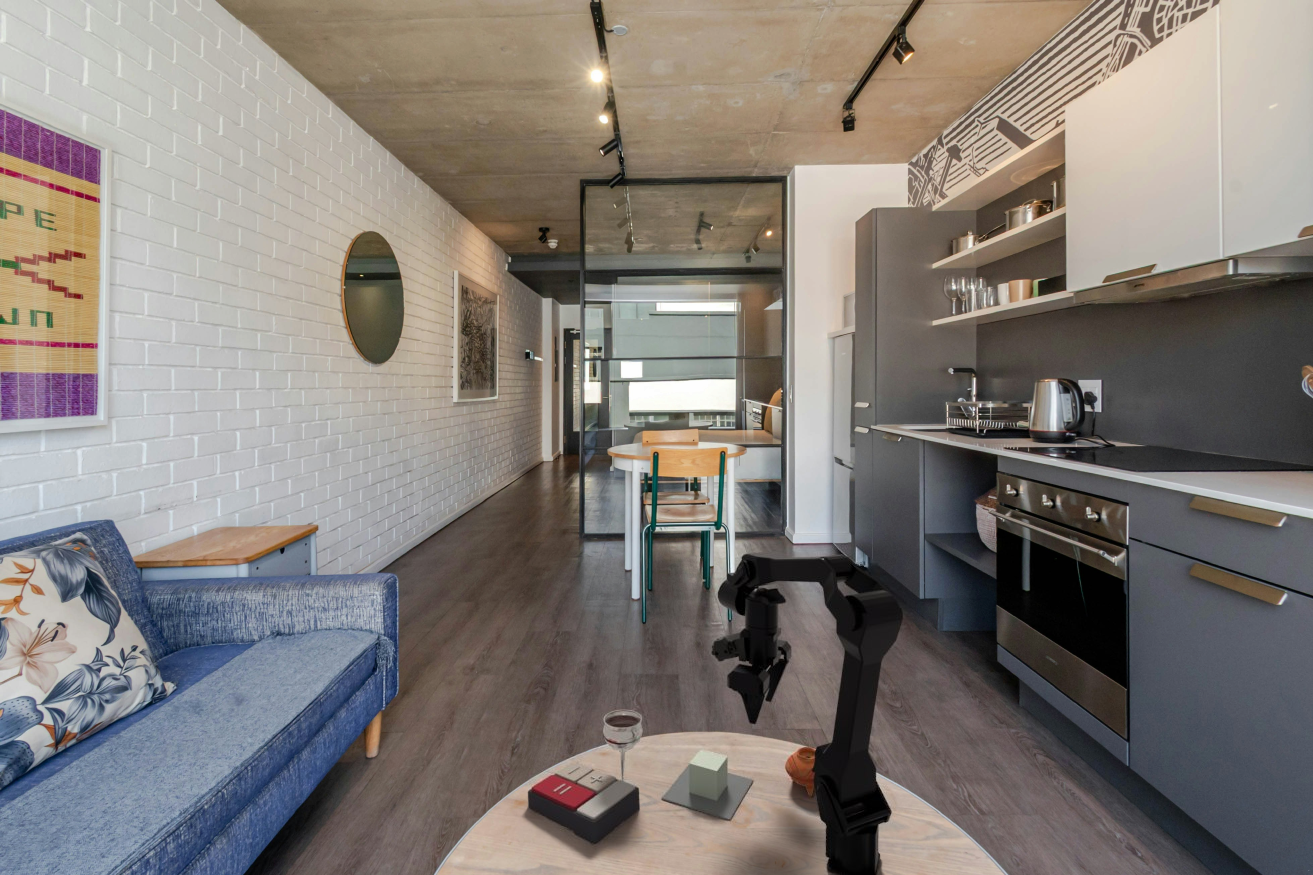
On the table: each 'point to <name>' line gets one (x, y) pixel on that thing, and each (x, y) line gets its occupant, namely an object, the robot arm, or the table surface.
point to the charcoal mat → (718, 808)
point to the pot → (802, 767)
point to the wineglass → (622, 733)
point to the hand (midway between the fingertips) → (760, 711)
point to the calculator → (584, 801)
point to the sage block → (708, 774)
